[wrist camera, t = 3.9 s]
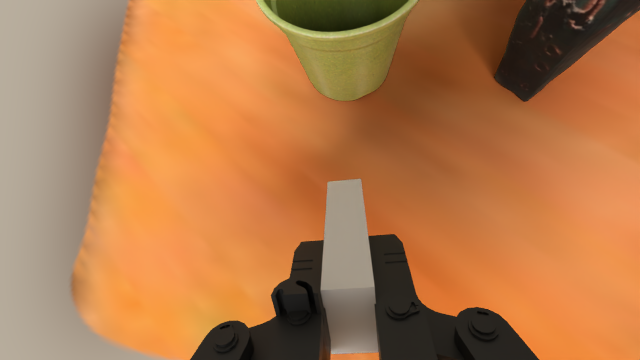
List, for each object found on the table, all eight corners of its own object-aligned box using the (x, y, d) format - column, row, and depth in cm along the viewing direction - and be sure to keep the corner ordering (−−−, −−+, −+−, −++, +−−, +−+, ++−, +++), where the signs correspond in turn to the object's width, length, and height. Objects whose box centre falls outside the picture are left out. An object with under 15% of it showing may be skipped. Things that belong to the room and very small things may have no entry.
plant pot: (309, 8, 27) (284, -110, 19) (425, 25, 25) (452, -98, 17) (270, 107, 25) (223, 20, 17) (395, 134, 23) (410, 51, 15)
